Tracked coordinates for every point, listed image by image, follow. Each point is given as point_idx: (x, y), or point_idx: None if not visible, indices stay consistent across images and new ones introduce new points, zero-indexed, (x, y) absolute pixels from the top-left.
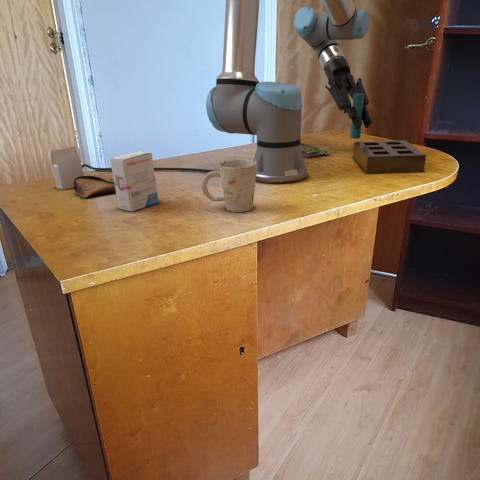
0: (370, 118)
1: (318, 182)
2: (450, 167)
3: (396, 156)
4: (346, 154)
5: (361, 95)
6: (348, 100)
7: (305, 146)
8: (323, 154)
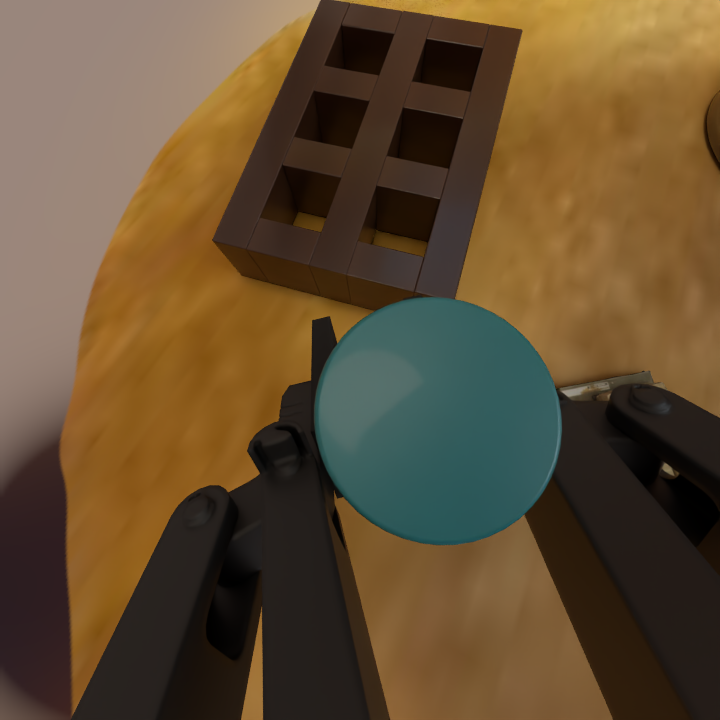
0: (314, 334)
1: (675, 55)
2: (226, 84)
3: (419, 15)
4: None
5: (416, 301)
6: (587, 466)
7: None
8: (566, 387)
